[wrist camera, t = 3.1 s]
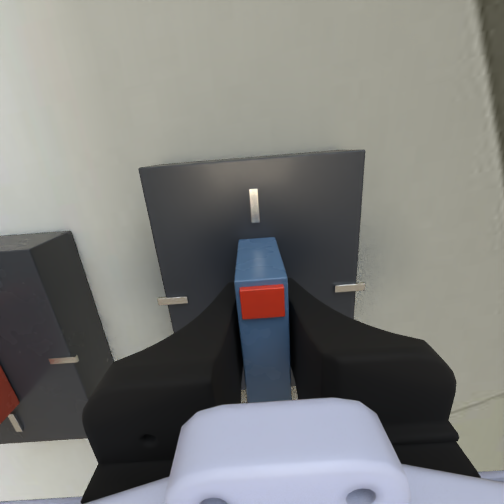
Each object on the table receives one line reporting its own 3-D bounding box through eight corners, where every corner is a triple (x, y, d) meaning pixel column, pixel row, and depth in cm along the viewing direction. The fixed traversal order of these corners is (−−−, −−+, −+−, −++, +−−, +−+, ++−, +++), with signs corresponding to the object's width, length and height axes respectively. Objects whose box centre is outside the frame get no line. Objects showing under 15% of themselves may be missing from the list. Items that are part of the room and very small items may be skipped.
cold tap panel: (338, 345, 17) (357, 384, 15) (191, 355, 18) (179, 397, 15) (348, 149, 13) (376, 148, 10) (153, 164, 13) (127, 168, 10)
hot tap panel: (129, 394, 19) (107, 439, 16) (-7, 403, 19) (-54, 450, 16) (77, 229, 14) (33, 250, 12) (-98, 243, 15) (-185, 266, 12)
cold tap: (280, 340, 14) (293, 418, 10) (248, 342, 14) (248, 421, 10) (275, 236, 12) (289, 281, 8) (238, 239, 12) (233, 284, 8)
